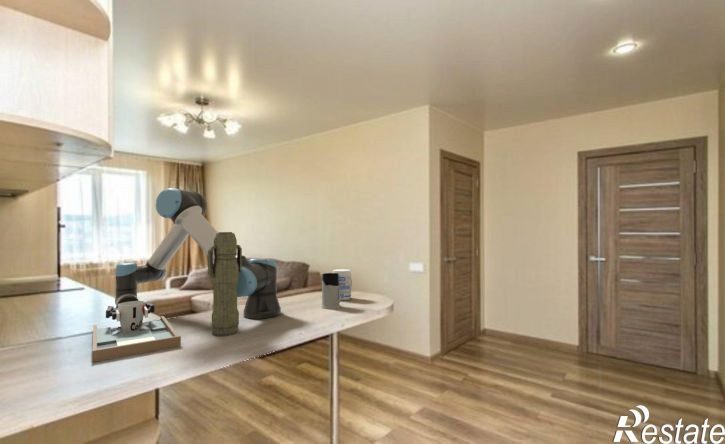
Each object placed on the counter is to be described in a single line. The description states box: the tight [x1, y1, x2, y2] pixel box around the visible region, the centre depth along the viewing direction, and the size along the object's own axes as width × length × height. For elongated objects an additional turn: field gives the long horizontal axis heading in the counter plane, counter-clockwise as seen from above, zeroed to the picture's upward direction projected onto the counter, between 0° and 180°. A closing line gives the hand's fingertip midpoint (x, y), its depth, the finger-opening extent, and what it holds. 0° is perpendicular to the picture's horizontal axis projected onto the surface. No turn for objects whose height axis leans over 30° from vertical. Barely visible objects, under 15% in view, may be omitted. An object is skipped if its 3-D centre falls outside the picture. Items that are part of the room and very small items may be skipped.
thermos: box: [207, 231, 243, 337], centre depth 127 cm, size 9×12×35 cm
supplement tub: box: [332, 268, 352, 301], centre depth 185 cm, size 10×10×15 cm
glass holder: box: [320, 272, 353, 310], centre depth 167 cm, size 9×14×15 cm, turn 93°
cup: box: [118, 300, 146, 334], centre depth 130 cm, size 8×8×10 cm
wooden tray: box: [91, 315, 182, 363], centre depth 121 cm, size 36×22×3 cm, turn 36°
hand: (132, 315), depth 126 cm, fingers closed on cup, 8 cm apart
